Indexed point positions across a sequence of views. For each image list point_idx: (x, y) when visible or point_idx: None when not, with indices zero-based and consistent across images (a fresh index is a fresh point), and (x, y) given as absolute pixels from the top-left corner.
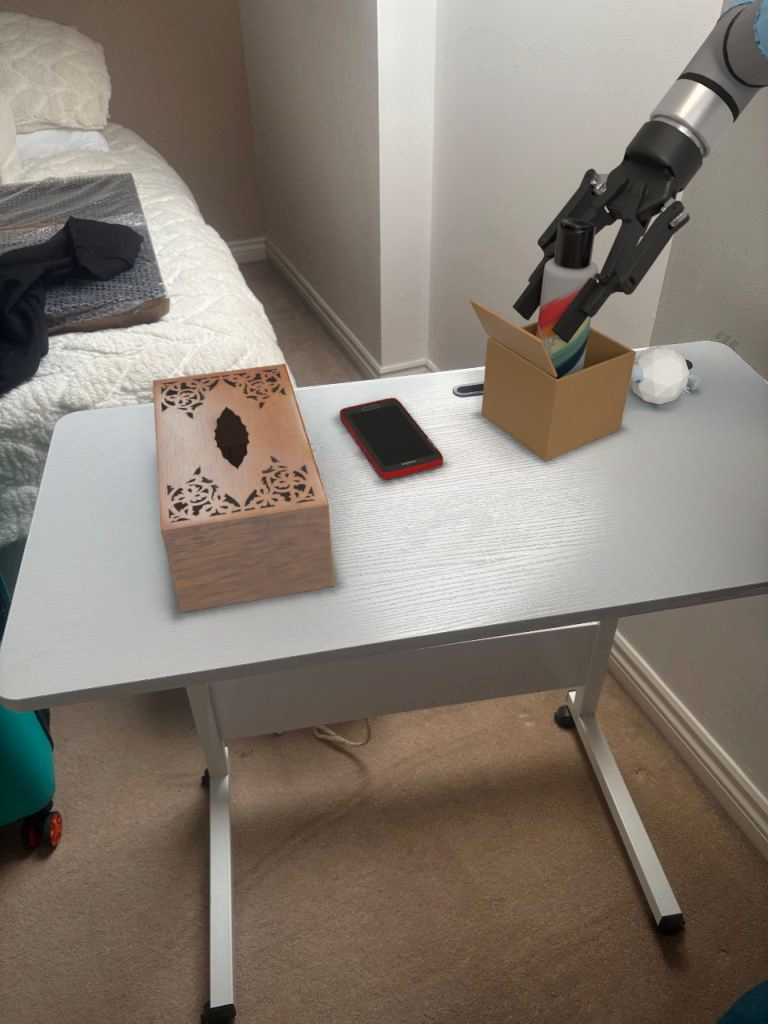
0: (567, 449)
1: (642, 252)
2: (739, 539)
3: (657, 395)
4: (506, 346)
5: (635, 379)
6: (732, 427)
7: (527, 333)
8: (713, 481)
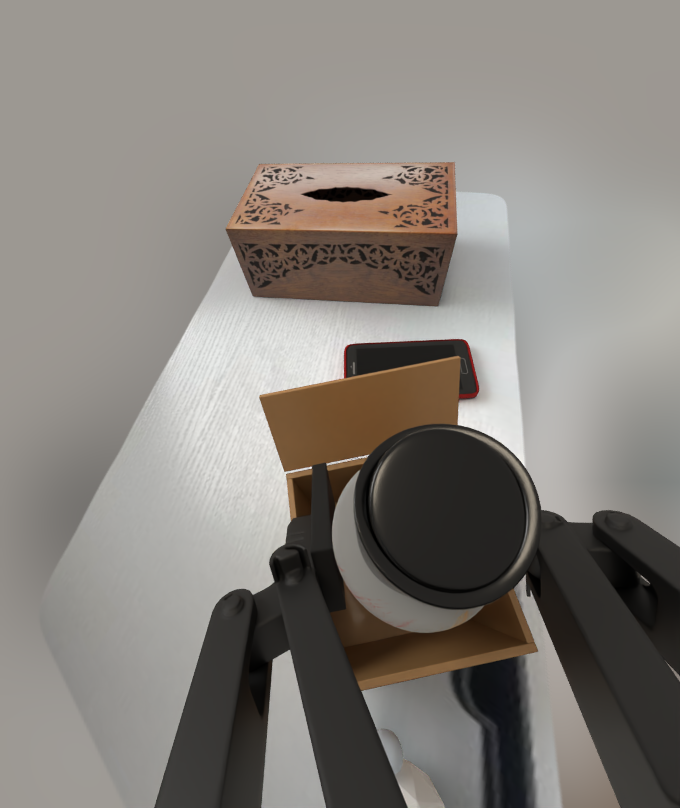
0: None
1: (175, 749)
2: (78, 643)
3: None
4: None
5: None
6: None
7: (296, 389)
8: (165, 709)
